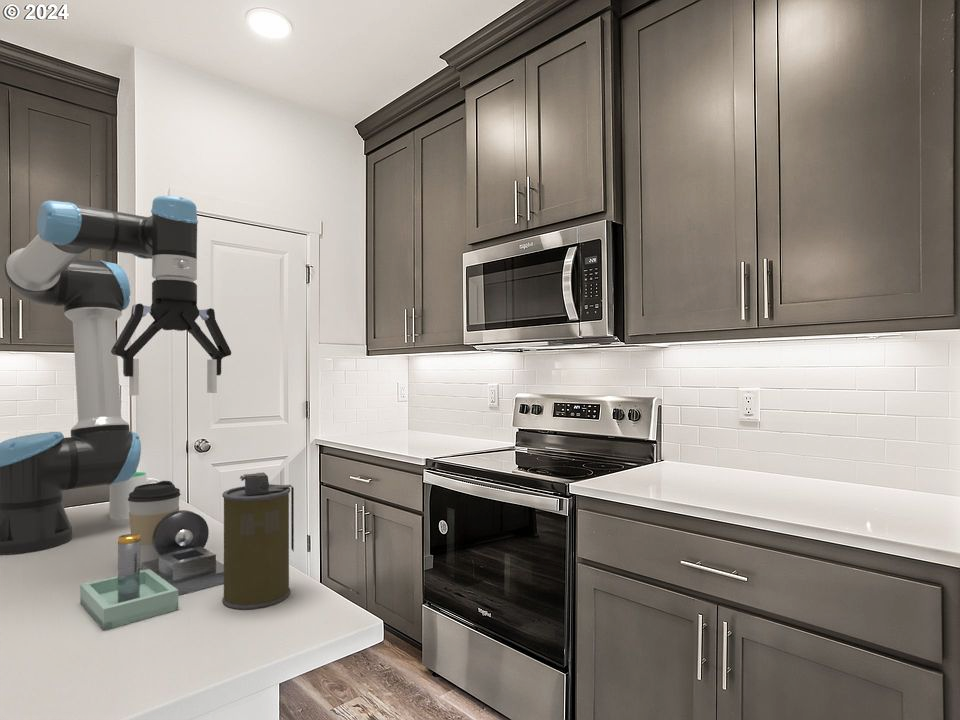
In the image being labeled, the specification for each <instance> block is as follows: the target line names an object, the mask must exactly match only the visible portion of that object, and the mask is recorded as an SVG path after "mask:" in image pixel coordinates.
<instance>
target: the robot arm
mask: <svg viewBox="0 0 960 720" xmlns="http://www.w3.org/2000/svg"><path fill="white" fill-rule="evenodd" d="M197 209H198V208H197V205H196V203H194V201H192V200H191V199H188V198H185V197H181V196H175V195H160V196H159V195H158V196H157V197H154V198H153V200H152V206H151V211H150V213H151V215H150V216H142V215H139V214H138V215H137V214H133V213H132V214H131V213H126V212H120V211H115V210H110V209H109V210H108V209H104V208H99V207H94V206H87V205H82V204H77V203H73V202H68V201H58V200H57V201H56V200H46V201H43V202H42V203H41V204H40V207H39V211H38V214H37V220H36V221H37V225H36V226H37V233H38V234H37V235H35V237H34V238H33V239H32V240H31V241H30V242H29V243H28V244H27V245H26V246H25V247H22V248H18V249H16V250H14V251H13V252H12V253H10V255H9V256H8V257H7V258H6V260H5V261H4V264H3V272H2V273H3V276H4V280H5V281H6V284H7V285H8V287H10V288H11V289H12V291H14V292H15V293H16V294H18V295H19V296H21V298H24V299H26V300H28V301H31V302H33V303H37V304H41V305H45V306H53V307H54V306H56V307H63V313H64V316H65V317H66V318H67V319H68V320H70V321H71V322H72V331H73V350H74V351H73V353H74V368H75V372H74V373H75V386H76V389H75V390H76V406H77V408H76V409H77V410H76V411H77V422H76V424H75V425H73V427H72V428H70V437H69V436H68V437H65V436H64V434H63V432H61V431H49V432H38V433H33V434H25V435H22V436H18V437H17V436H16V437H12V438H9V439H6V440H3V441H2V442H0V555H13V554H14V555H15V554H22V553H24V554H25V553H30V552H36V551H41V550H45V549H49V548H52V547H56V546H60V545H62V544H65V543H67V542H69V541H70V540H72V538H73V527H72V525H71V523H70V519H69V517H68V515H67V511H66V509H65V507H64V504H63V493H64V492H63V491H68V490H69V491H70V490H75V489H84V488H90V487H98V486H104V485H105V486H106V485H107V486H110V484H113V483H118V482H124V481H127V480H129V479H130V478H131V477H132V476H133V475H134V474H135V472H137V469H138V467H139V464H140V460H141V454H142V452H141V451H142V443H141V439H140V435H139V434H138V433H137V432H135V431H130V424H129V423H128V422H127V421H126V420H125V419H123V417H122V409H121V407H122V406H121V392H120V377H119V376H120V374H119V361H118V359H119V358H121V359H122V365H123V366H122V368H123V369H122V370H123V371H122V372H123V373H122V374H123V376H124V377H128V378H129V382H128V383H129V386H128V387H129V391H128V392H129V394H128V395H129V396H139V395H140V394H139V393H140V390H139V389H140V388H139V387H140V385H139V381H140V379H139V378H140V377H139V375H140V374H139V372H140V371H139V370H140V369H139V368H140V366H139V365H140V364H139V363H140V362H139V361H140V359H139V358H134V357H135V356H136V355H137V354H138V353H139V352H140V351H141V350H142V349H143V347H145V345H146V344H148V343H149V342H150V340H152V338H154V336H155V335H156V334H157V333H158V332H160V331H161V330H164V331H177V332H178V331H179V332H184V331H187V332H188V333H189V334H191V336H192V337H193V338H194V339H195V340H196V341H197V343H198V344H199V345H200V346H201V348H203V350H204V351H205V352H206V353H207V354H208V356H209V357H211V359H207V360H206V361H207V364H206V368H207V369H206V372H207V373H206V384H207V385H206V387H207V388H206V393H208V394H216V393H217V392H218V391H217V388H218V387H217V382H218V380H217V376H221V374H222V359H224V358H226V357H229V356H231V355H232V350H231V349H230V346H229V344H228V342H227V340H226V339H225V336H224V334H223V333H222V331H221V328H220V326H219V324H218V322H217V320H216V314H215V313H216V312H215V310H214V308H211V307H210V308H206V309H205V308H204V309H199V308H198V285H197V284H196V282H195V281H196V280H198V271H197V270H198V224H199V220H198V213H197ZM89 249H92V250H93V249H94V250H101V251H108V252H117V253H124V254H129V255H130V254H132V255H133V256H135V257H137V258H139V259H144V260H149V259H150V260H151V278H152V279H154V280H153V281H152V282H151V304H150V306H148V305H144V304H143V303H136V304H133V305H132V308H131V314H130V316H129V319H128V321H127V322H126V325H125V326H124V328H123V329H122V331H121V333H120V334H119V337H118V338H117V328H116V322H117V320H119V318H120V317H122V315H123V312H122V311H124V310H126V309H127V308H128V307H129V305H130V301H131V298H130V297H131V285H130V281H129V278H128V275H127V273H126V271H125V270H124V268H123V267H121V265H119V264H118V263H114V262H108V261H103V260H101V259H96V260H94V259H88V258H79V257H81V256H82V255H83V254H84V253H86V252H87V251H88V250H89ZM148 313H149V315H150V316H151V317H152V318H153V321H152V323H151V324H150V325H148V327H147V329H146V330H145V331H143V332H142V334H141V335H140V336H138V337H137V338H136V340H135V341H134V342H133V343H132V344H131V345H130V346H129V347H128V348H126V347H127V345H128V343H129V342H130V340H131V338H132V337H133V335H134V333H135V331H136V330H137V328H138V326H139V324H140V323H141V320H142V319H143V318H144V317H146V316H147V315H148ZM199 316H200V319H201V320H202V321H204V323H205V327H206V328H207V330H208V332H209V335H211V338H212V340H213V341H211V340H210V339H209V337H208V336H207V335H206V334H205V333H204V331H203V330H202V329H201V328H202V327H201V326H200V325H199V324H198V323H197V322H196V320H197V319H198V317H199ZM213 342H214V343H213ZM215 345H216V346H215ZM118 357H119V358H118Z"/></svg>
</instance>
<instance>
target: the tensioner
mask: <svg viewBox="0 0 960 720" xmlns="http://www.w3.org/2000/svg"><path fill="white" fill-rule="evenodd" d="M209 531H210V530H209V525H208V523H207V521H206V519H204V517H203V516H201V515H200V514H197V513H195V512H194V511H190V510H187V509H181V510H180V509H179V511H175V512H172V513H170V514H168V515H167V516H165V517H164V518H163V519H162V520H161V521H160V522H159V523H158V524H157V526H156V528H155V530H154V533H153V537H152V543H153V547H154V549H155V551H156V552H157V553H158V554H159V559H156V560H151V561H147V562H142V563H141V567H140V571H142V570H146V569H150V570H152V571H153V572H154V573H156V574H157V575H158V576H160V577H161V578H162V579H164V580H165V581H167V582H168V583H169V584H171V585H172V586H173V587H175V588H176V589H177V590H178V596H181V595H185V594H189V593H193V592H197V591H200V590H205V589H209V588H212V587H215V586H219V585H224V563H222V562H219V560H217V554H216V553H214V552H212V551H210V550H208V549H206V548H205V546H206V545H207V542H208V539H209V534H210V532H209Z"/></svg>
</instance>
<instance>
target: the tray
mask: <svg viewBox="0 0 960 720" xmlns="http://www.w3.org/2000/svg"><path fill="white" fill-rule="evenodd" d="M79 586H80V591H79V593H80V596H79V597H80V598H79V599H80V602H79V604H81V606H82V607H83V608H84V609H85V611H86V612H87V613H88V614H89V615H90V617H91V618H92V619H93V621H95V622H96V623H97V625H99V627H100V628H101V629H102V630H103V631H106V630H109V629H113V628H117V627H121V626H124V625H128V624H131V623H135V622H139V621H142V620H145V619H149V618H153V617H156V616H160V615H163V614H168V613H171V612H174V611H178V610H179V595H178V590H177V589H176V588H175V587H173V586H172V585H171V584H169V583H168V582H167V581H165V580H164V579H162V578H161V577H160V576H158V575H157V574H156V573H154V572H153V571H152V570H150V569H146V570H142V571H141V570H140V598H137V599H133V600H129V601H125V602H121V603H118V575H116V576H112V577H107V578H104V579H98V580H94V581H90V582H86V583H81V584H80V585H79Z"/></svg>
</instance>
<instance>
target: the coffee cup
mask: <svg viewBox="0 0 960 720" xmlns="http://www.w3.org/2000/svg"><path fill="white" fill-rule="evenodd" d="M159 481H160V482H158V483H157V482H155V483H154V482H153V483H152V482H151V483H148V484H145V485H140V486H137V487H135V489H134V491H133V492H131V493H130V494H129V498H128V501H129V506H130V512H129V518H130V519H129V527H130V534H140V568H141V563H142V562H147V561H151V560H156V559H159V554H158V553H157V552H156V551H155V549H154V547H153V543H152V537H153V533H154V530H155V528H156V526H157V524H158V523H159V522H160V521H161V520H162V519H163V518H164V517H165V516H167V515H168V514H170V513H172V512H175V511H179V510H180V505H179V504H180V496H181V495H182V494H181V490H180V488H178V487H176V486H175V485H174V483H173V482H172V481H170V480H159Z"/></svg>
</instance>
